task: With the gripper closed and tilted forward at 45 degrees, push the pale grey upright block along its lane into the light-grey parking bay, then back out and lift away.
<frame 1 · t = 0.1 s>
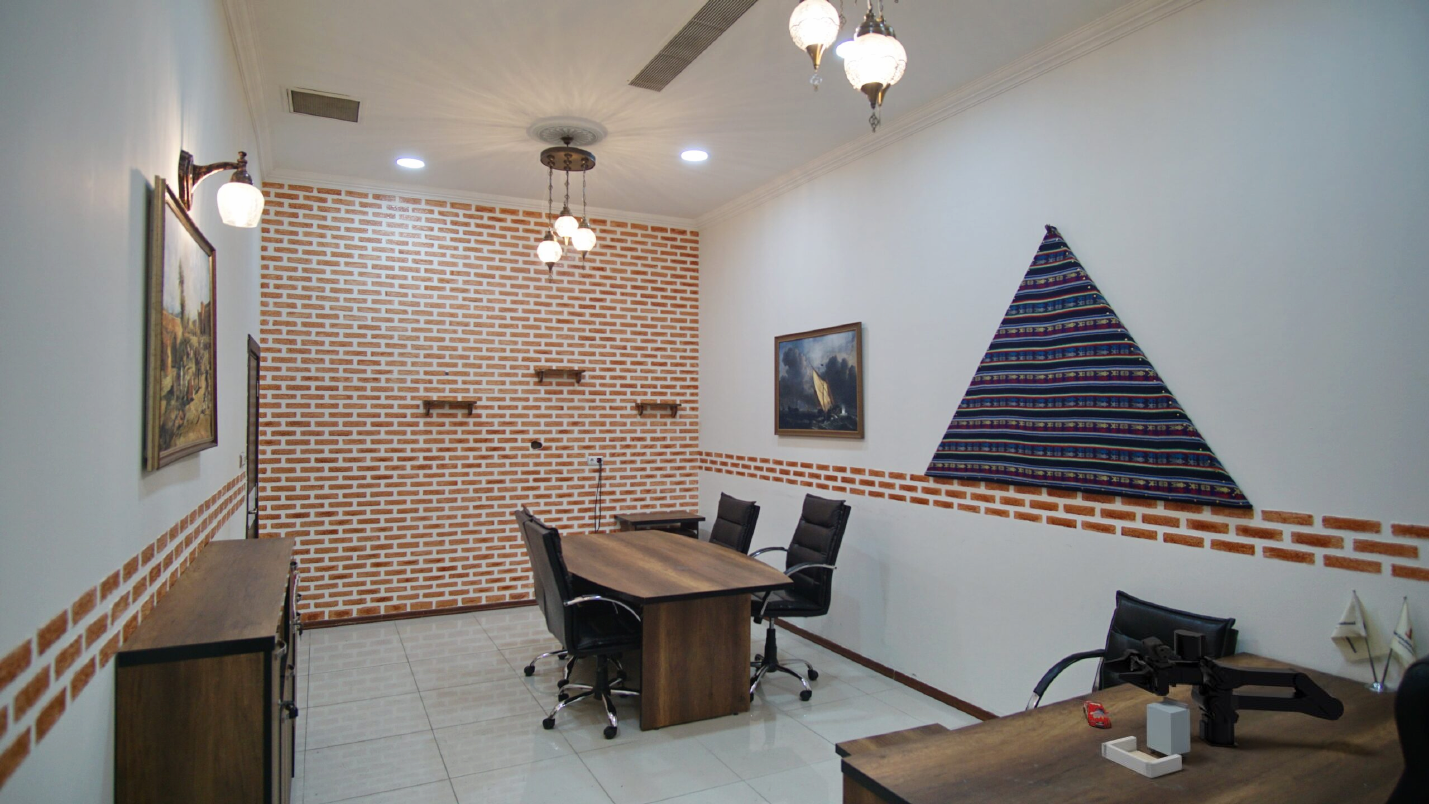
hand: (1110, 670, 193), 17 cm above the table, tool horizontal, fingers open, 9 cm apart
race car: (1096, 721, 204), on the table
bay: (1142, 762, 178), on the table
pale grey upright block: (1168, 728, 182), point 6 cm above the table, slide at 0.0 cm
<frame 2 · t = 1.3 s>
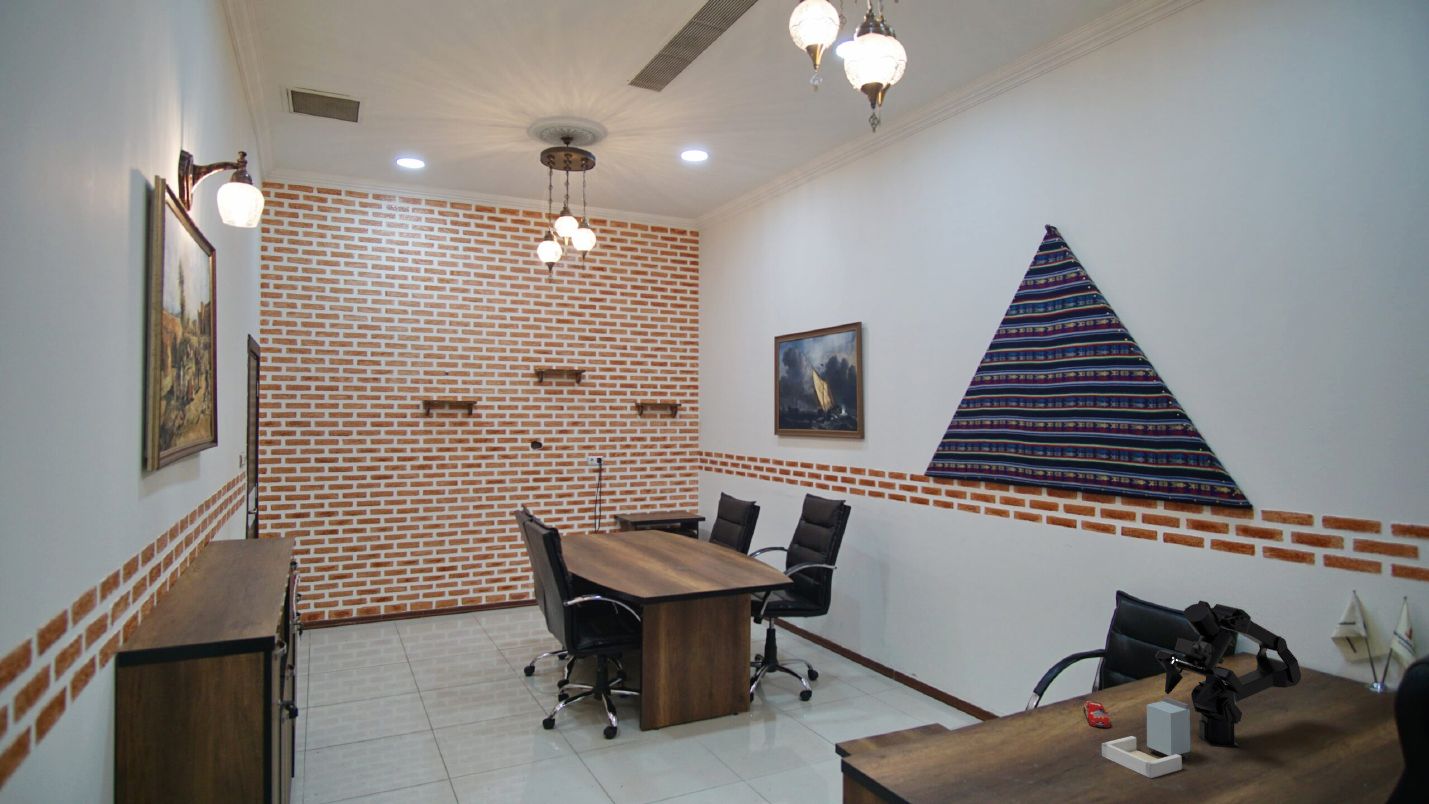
hand: (1181, 698, 185), 13 cm above the table, tool tilted 45°, fingers open, 7 cm apart
nothing on the table moved.
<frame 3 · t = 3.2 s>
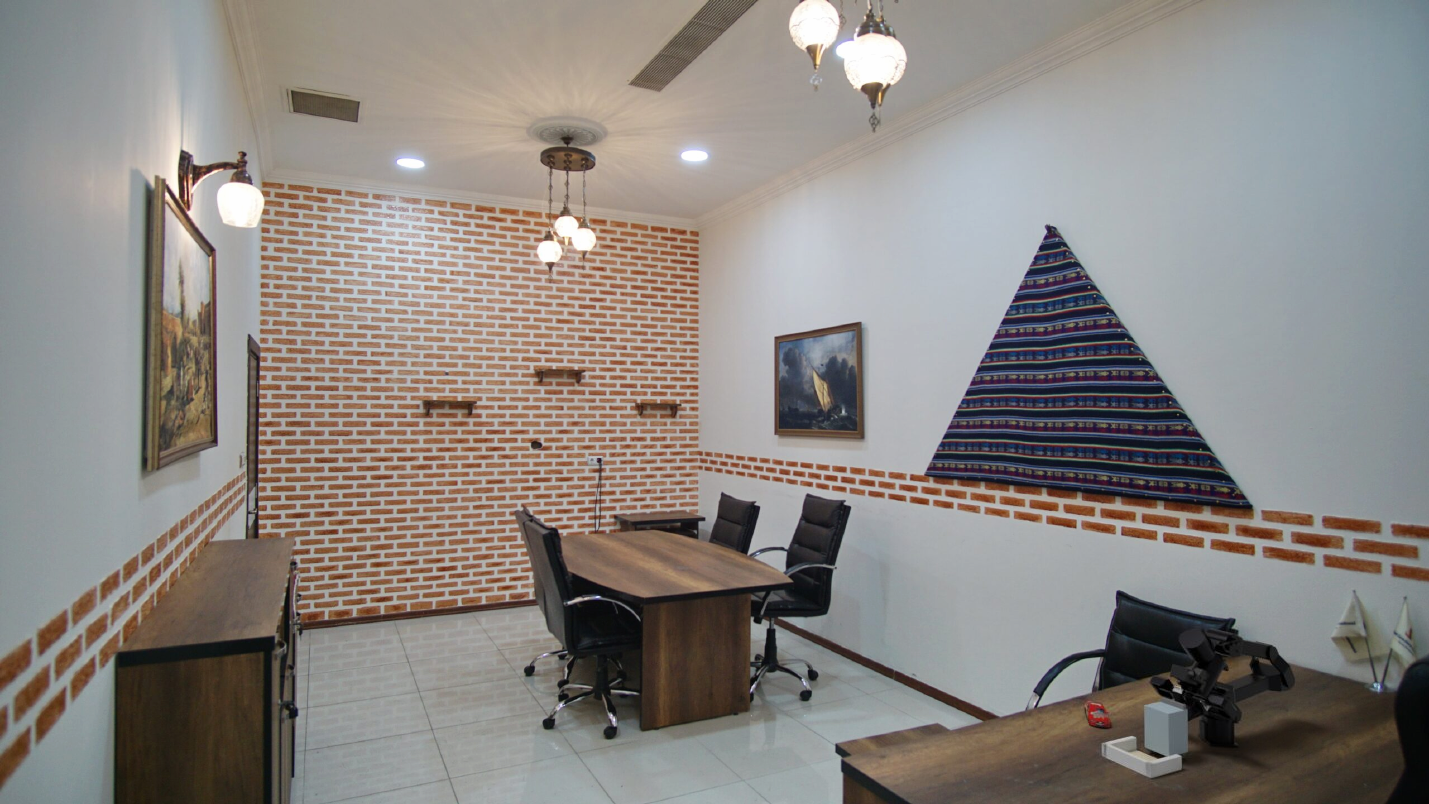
hand: (1176, 725, 183), 7 cm above the table, tool tilted 45°, fingers closed, pressing on pale grey upright block
pale grey upright block: (1165, 728, 181), point 6 cm above the table, slide at 0.9 cm, touching gripper
everything else where it was.
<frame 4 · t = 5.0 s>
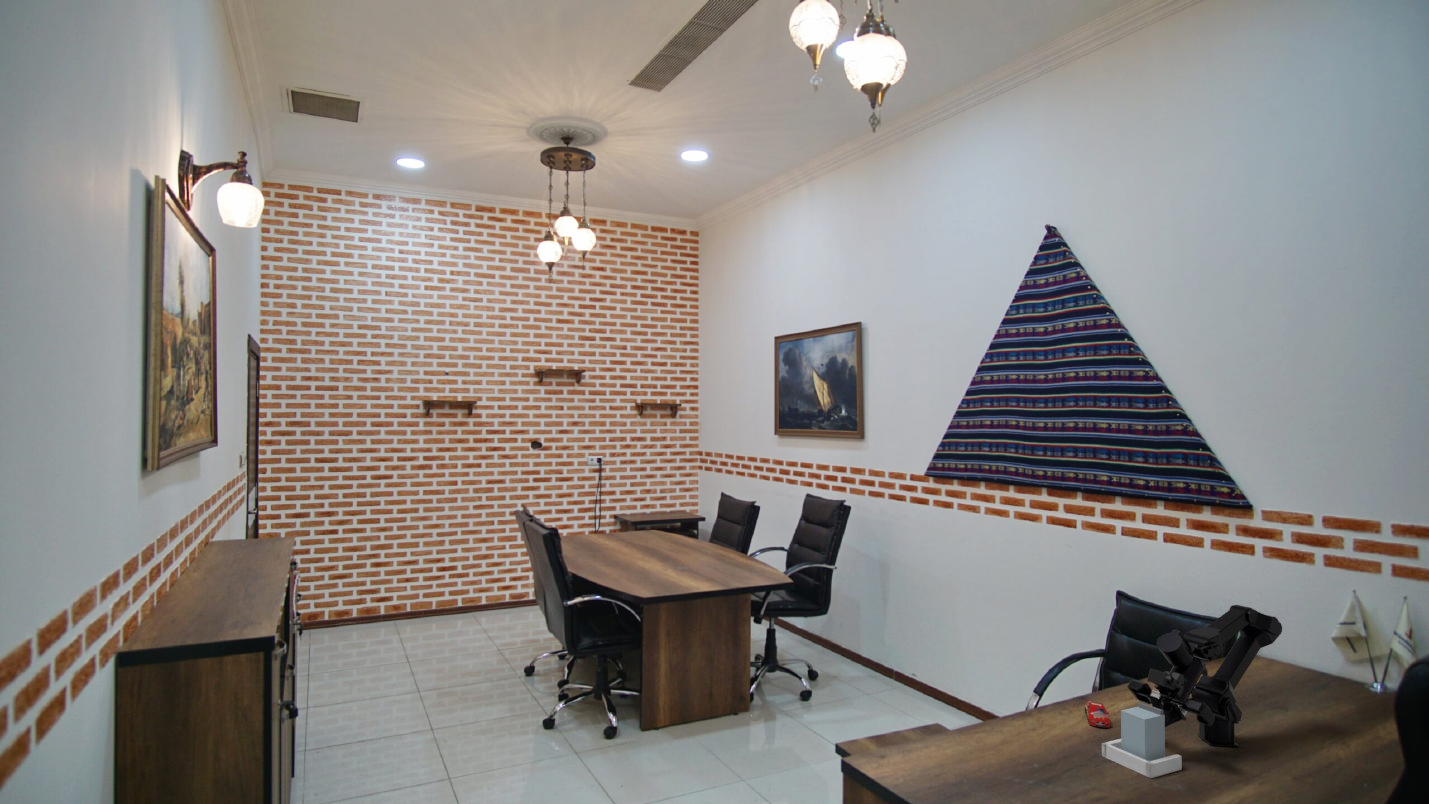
hand: (1153, 730, 179), 7 cm above the table, tool tilted 45°, fingers closed, pressing on pale grey upright block
pale grey upright block: (1142, 734, 178), point 6 cm above the table, slide at 9.2 cm, touching gripper
everything else where it was.
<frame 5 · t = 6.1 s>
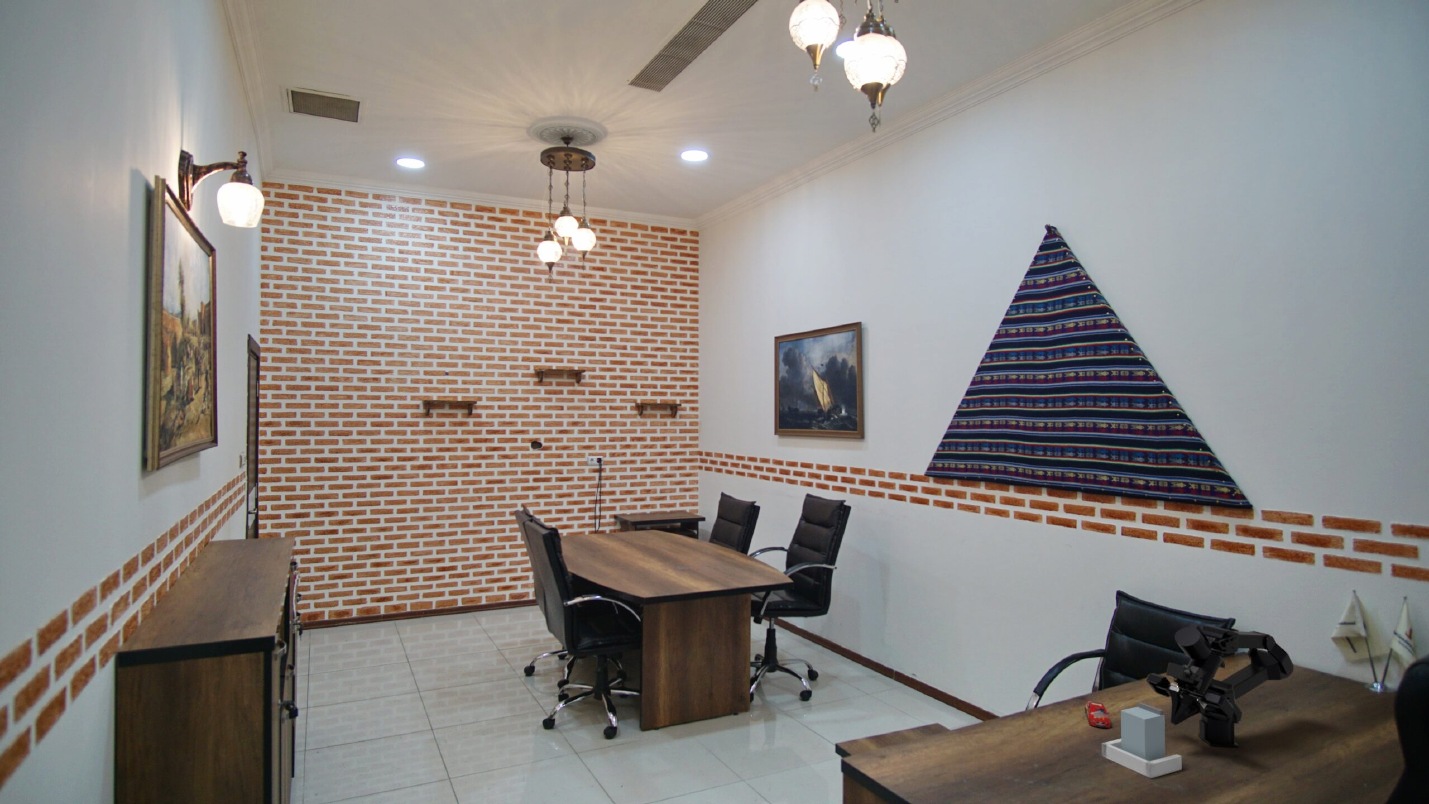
hand: (1173, 723, 182), 7 cm above the table, tool tilted 45°, fingers closed
pale grey upright block: (1142, 734, 178), point 6 cm above the table, slide at 9.2 cm
everything else where it was.
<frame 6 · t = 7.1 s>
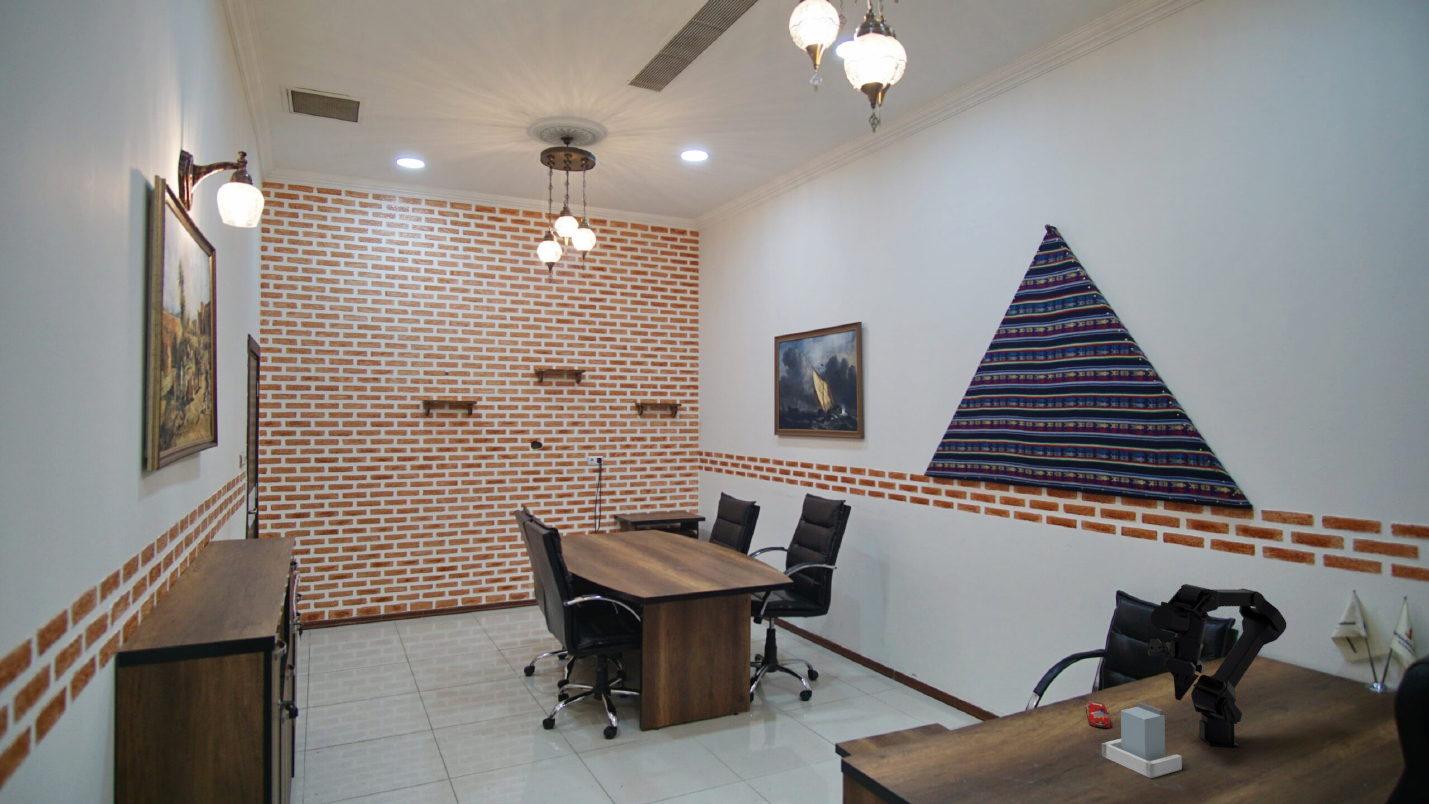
hand: (1177, 699, 186), 12 cm above the table, tool pointing down, fingers closed
nothing on the table moved.
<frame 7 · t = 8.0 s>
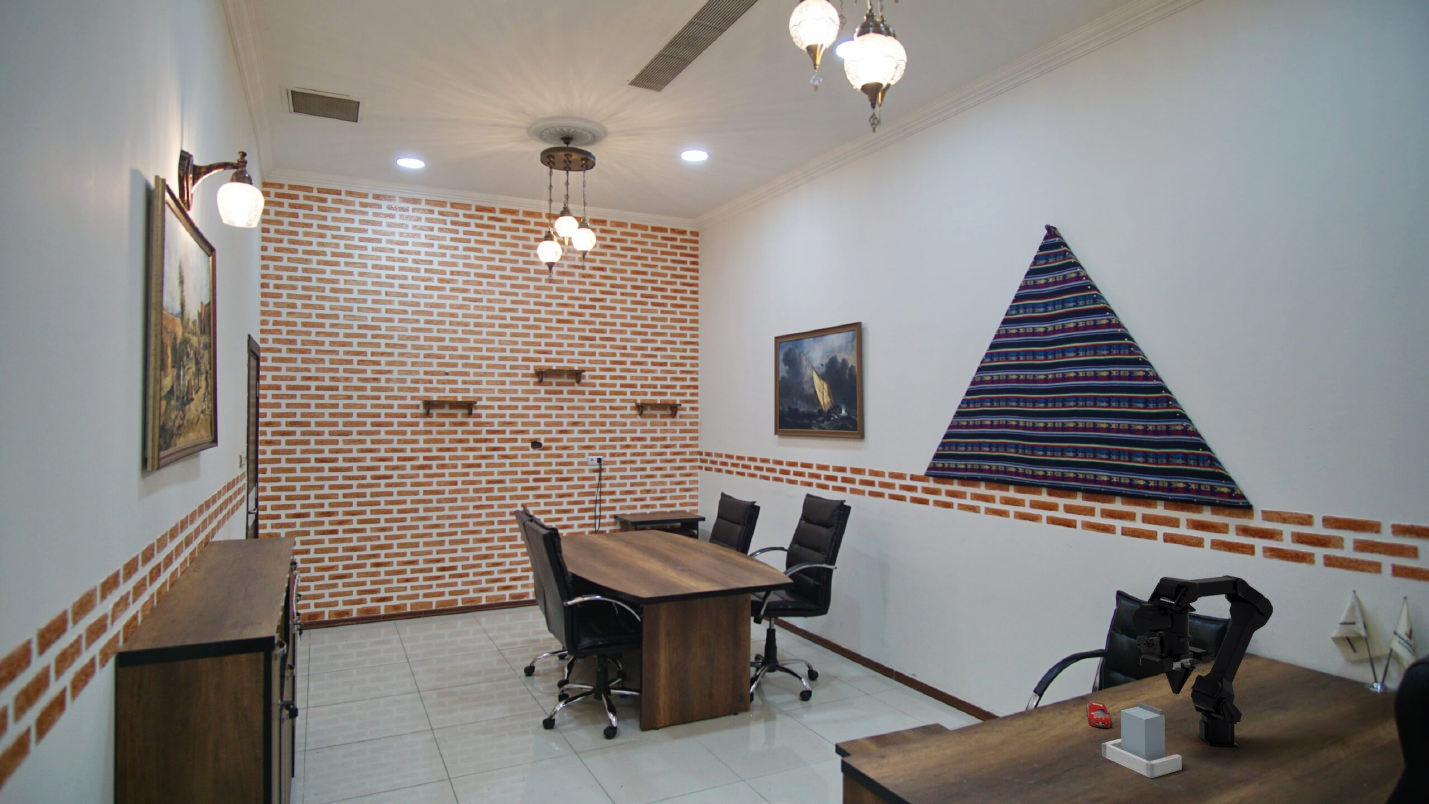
hand: (1175, 693, 186), 13 cm above the table, tool pointing down, fingers closed
nothing on the table moved.
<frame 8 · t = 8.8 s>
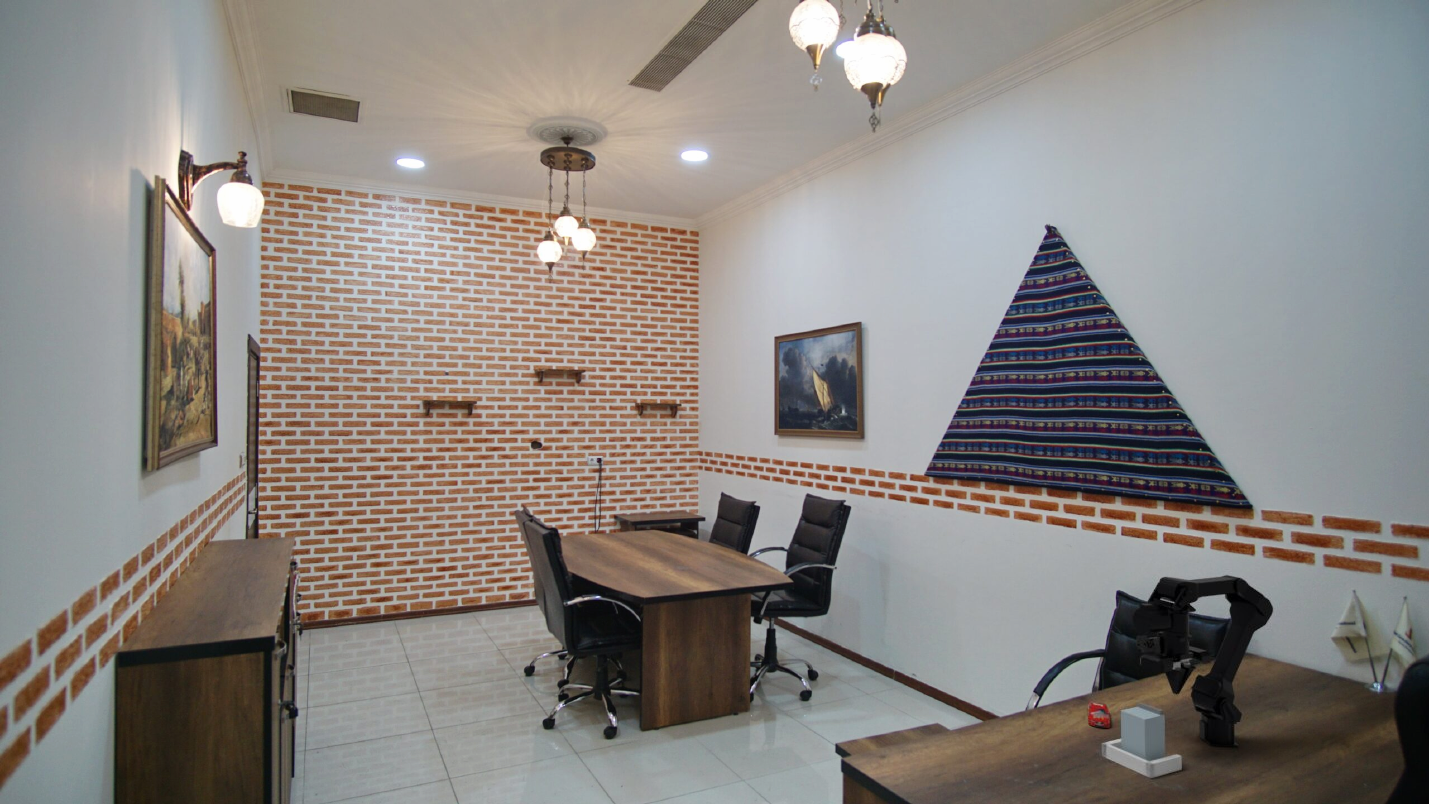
hand: (1175, 693, 186), 13 cm above the table, tool pointing down, fingers closed
nothing on the table moved.
at the end: pale grey upright block slide at 9.2 cm; pale grey upright block 0.1 cm from the bay (horizontally) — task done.
